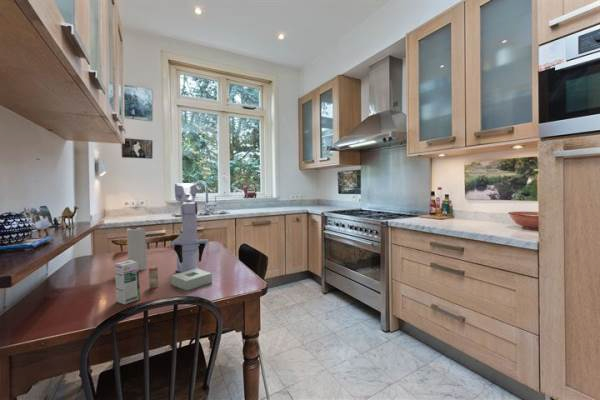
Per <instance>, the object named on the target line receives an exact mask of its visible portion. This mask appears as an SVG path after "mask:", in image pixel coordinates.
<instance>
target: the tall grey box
mask: <svg viewBox="0 0 600 400" xmlns="http://www.w3.org/2000/svg"><path fill="white" fill-rule="evenodd" d="M146 236H147V235H146V228H145V227H143V228H141V227H131V228H130V227H129V228H126V242H127V243H126V244H127V245H126V246H127V261H129V260H134V261H137V262H138V267H139V271H142V270H146V269H148V264H147V263H148V260H147V239H146V238H147V237H146Z"/></svg>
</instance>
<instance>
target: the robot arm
mask: <svg viewBox="0 0 600 400" xmlns="http://www.w3.org/2000/svg"><path fill="white" fill-rule="evenodd" d="M174 196H175V197H174V198H175V200H176V201H178V202H179V203H180V216H181V229H182V231H181V232H182V234H180V235H179V236H178V237H177V238H176V240H172V241H171V247H173V250H174V251H175V254H176V255H177V256H176V269H175V271H177V272H178V273H182V272H185V271H189V270H192V269H196V268H197V269H200V268H199V267H197V256H196V254H197V252H198V262H199V263H200V262H202V258H203V254H204V250H205V248H206V245H209V238H207V239H205V238H204V239H203V238H202V239H198V227H197V224H198V223H197V221H198V220H197V216H198V209H199V208H198V204H197V201H195V200H196V197H197V183H195V182H187V183H183V182H181V183H178V182H176V183H174Z"/></svg>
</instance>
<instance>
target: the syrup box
mask: <svg viewBox="0 0 600 400" xmlns="http://www.w3.org/2000/svg"><path fill="white" fill-rule="evenodd" d="M114 275H115V279H114V280H115V291H116V293H115V294H116V302H117V303H119V304H123V305H127V304H130V303H132V302H133V303H134V302H136V301H139V300H141V287H140V270H139V267H138V262H137V261H134V260H129V261H128V260H126V261H121V262H117V263H114Z"/></svg>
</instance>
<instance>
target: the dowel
mask: <svg viewBox="0 0 600 400" xmlns="http://www.w3.org/2000/svg"><path fill="white" fill-rule="evenodd" d="M158 272H159V271H158V266H157V267H156V266H154V267H150V268H148V280H149V281H148V282H149V289H157V288H159V273H158Z"/></svg>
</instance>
